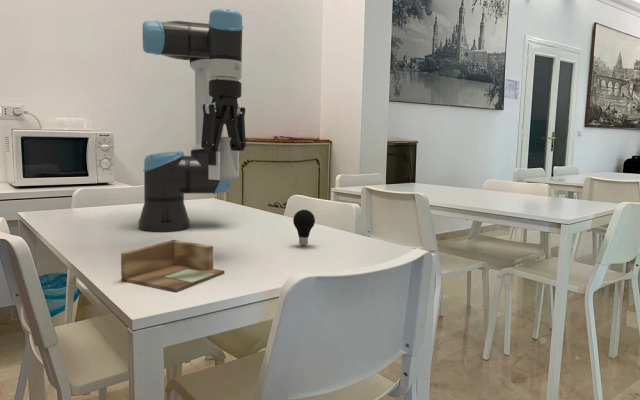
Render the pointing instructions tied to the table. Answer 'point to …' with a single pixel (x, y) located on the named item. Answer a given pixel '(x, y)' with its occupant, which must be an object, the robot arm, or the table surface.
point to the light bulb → (303, 225)
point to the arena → (169, 265)
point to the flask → (226, 160)
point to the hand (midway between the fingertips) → (224, 178)
